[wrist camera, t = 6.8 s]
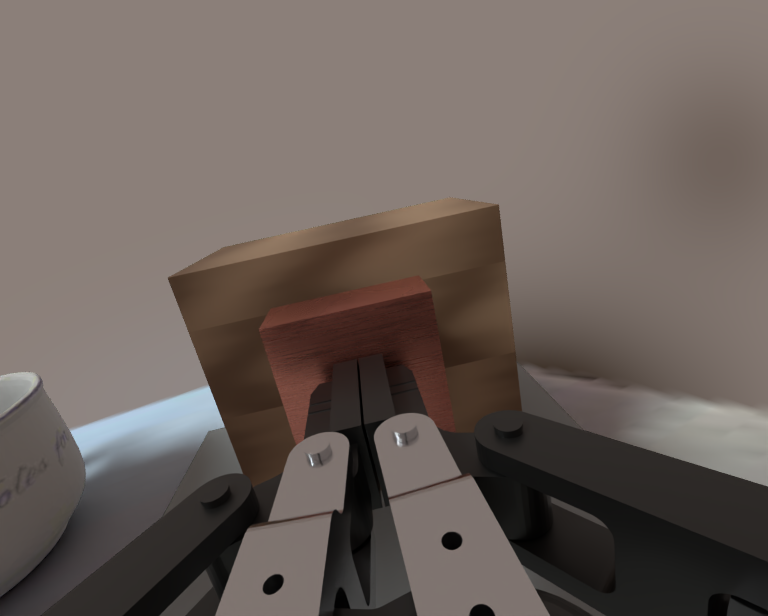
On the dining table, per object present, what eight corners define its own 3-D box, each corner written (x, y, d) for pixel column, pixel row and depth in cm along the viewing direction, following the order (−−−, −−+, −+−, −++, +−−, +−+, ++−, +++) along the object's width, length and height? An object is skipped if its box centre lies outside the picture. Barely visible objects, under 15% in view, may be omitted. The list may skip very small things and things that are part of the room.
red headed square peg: (305, 472, 13) (258, 329, 11) (320, 357, 22) (295, 266, 20) (456, 436, 13) (430, 290, 12) (411, 335, 22) (393, 244, 20)
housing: (267, 536, 18) (167, 277, 14) (287, 440, 25) (223, 247, 21) (529, 473, 18) (498, 204, 15) (479, 395, 25) (450, 197, 21)
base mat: (-40, 956, 9) (-65, 935, 8) (213, 444, 26) (208, 431, 26) (834, 725, 9) (840, 697, 9) (516, 373, 26) (515, 359, 26)
